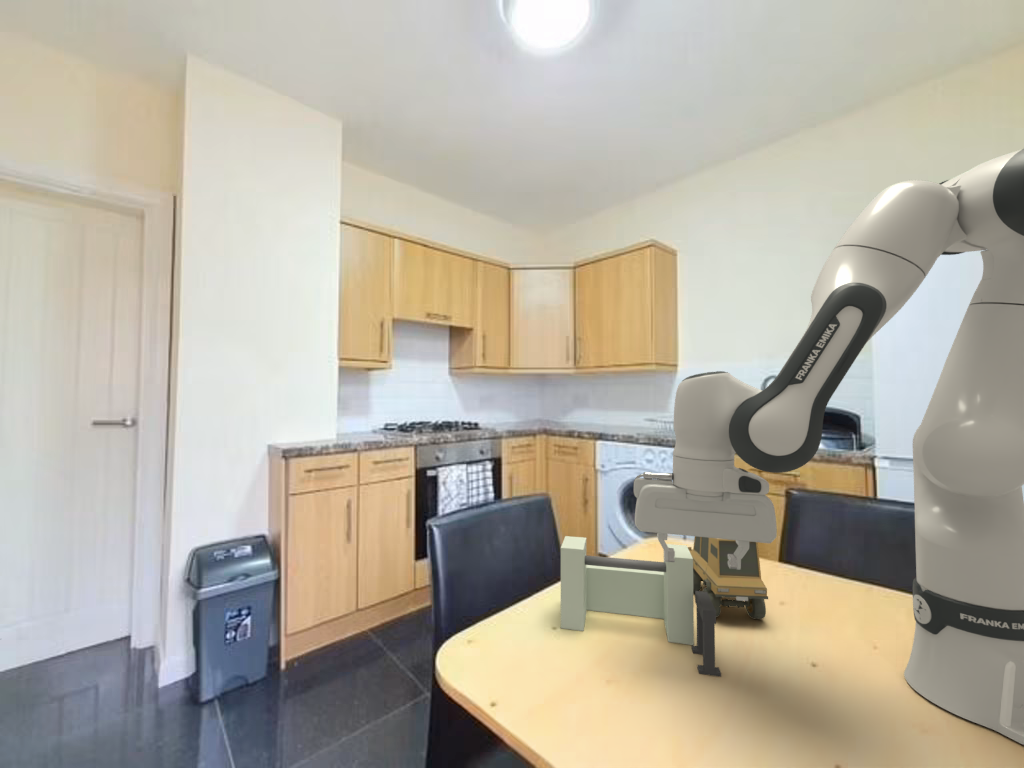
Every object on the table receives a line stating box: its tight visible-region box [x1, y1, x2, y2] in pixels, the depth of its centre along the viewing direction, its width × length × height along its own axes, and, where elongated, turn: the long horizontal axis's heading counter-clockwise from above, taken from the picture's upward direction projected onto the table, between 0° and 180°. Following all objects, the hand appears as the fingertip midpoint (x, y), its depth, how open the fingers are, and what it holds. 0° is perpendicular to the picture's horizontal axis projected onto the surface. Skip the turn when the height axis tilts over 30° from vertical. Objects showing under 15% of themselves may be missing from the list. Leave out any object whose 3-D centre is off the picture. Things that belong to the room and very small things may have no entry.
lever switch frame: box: [560, 535, 695, 646], centre depth 80 cm, size 22×10×14 cm, turn 76°
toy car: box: [687, 536, 769, 620], centre depth 88 cm, size 10×19×15 cm, turn 174°
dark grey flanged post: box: [691, 590, 722, 678], centre depth 68 cm, size 3×7×9 cm, turn 166°
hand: (701, 564), depth 69 cm, fingers open, 8 cm apart
